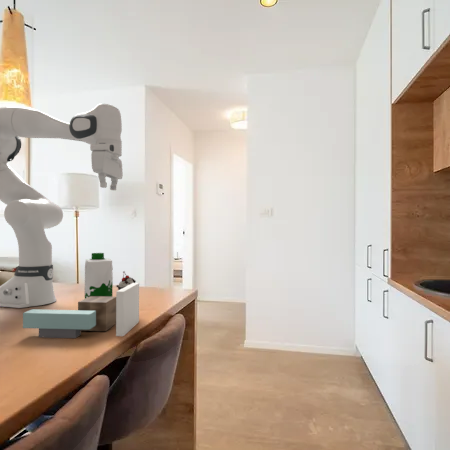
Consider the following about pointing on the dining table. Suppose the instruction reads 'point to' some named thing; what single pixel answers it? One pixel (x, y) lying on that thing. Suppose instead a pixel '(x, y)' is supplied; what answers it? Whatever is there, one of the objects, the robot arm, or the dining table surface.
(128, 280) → the sundae
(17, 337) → the dining table surface
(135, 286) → the wall
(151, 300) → the dining table surface
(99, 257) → the milk carton
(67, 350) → the dining table surface
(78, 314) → the peg
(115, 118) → the robot arm
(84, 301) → the block
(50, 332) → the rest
